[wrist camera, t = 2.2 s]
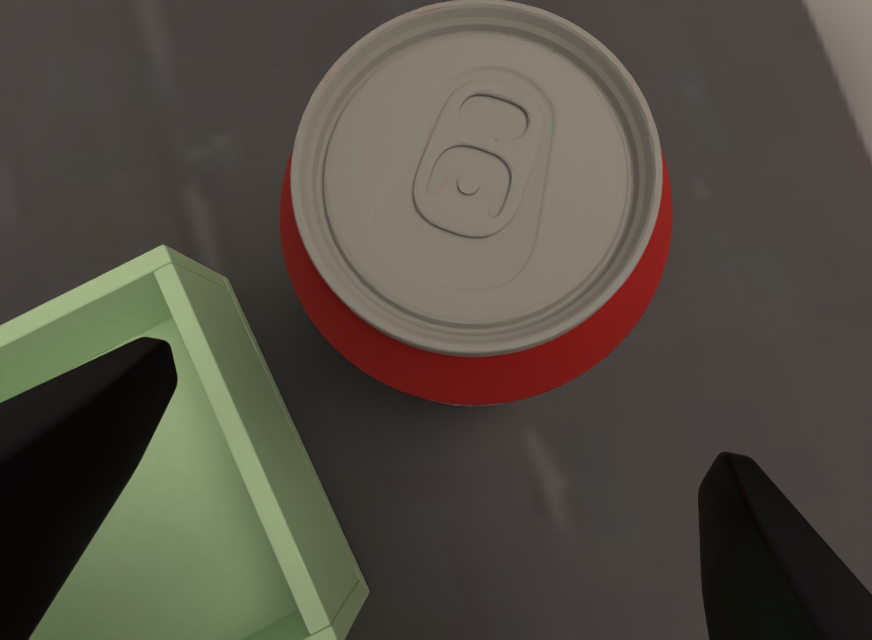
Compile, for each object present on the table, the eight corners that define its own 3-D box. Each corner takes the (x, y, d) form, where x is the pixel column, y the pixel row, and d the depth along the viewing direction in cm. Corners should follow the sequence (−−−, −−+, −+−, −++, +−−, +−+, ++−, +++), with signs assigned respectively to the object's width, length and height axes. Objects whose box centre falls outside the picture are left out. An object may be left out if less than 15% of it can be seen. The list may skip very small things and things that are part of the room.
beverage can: (344, 365, 20) (167, 309, 8) (413, 187, 21) (341, -97, 9) (532, 435, 20) (631, 481, 8) (596, 248, 20) (774, 28, 8)
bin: (370, 591, 19) (341, 648, 15) (44, 758, 19) (-86, 867, 14) (227, 277, 21) (162, 243, 16) (-72, 427, 21) (-220, 433, 16)
